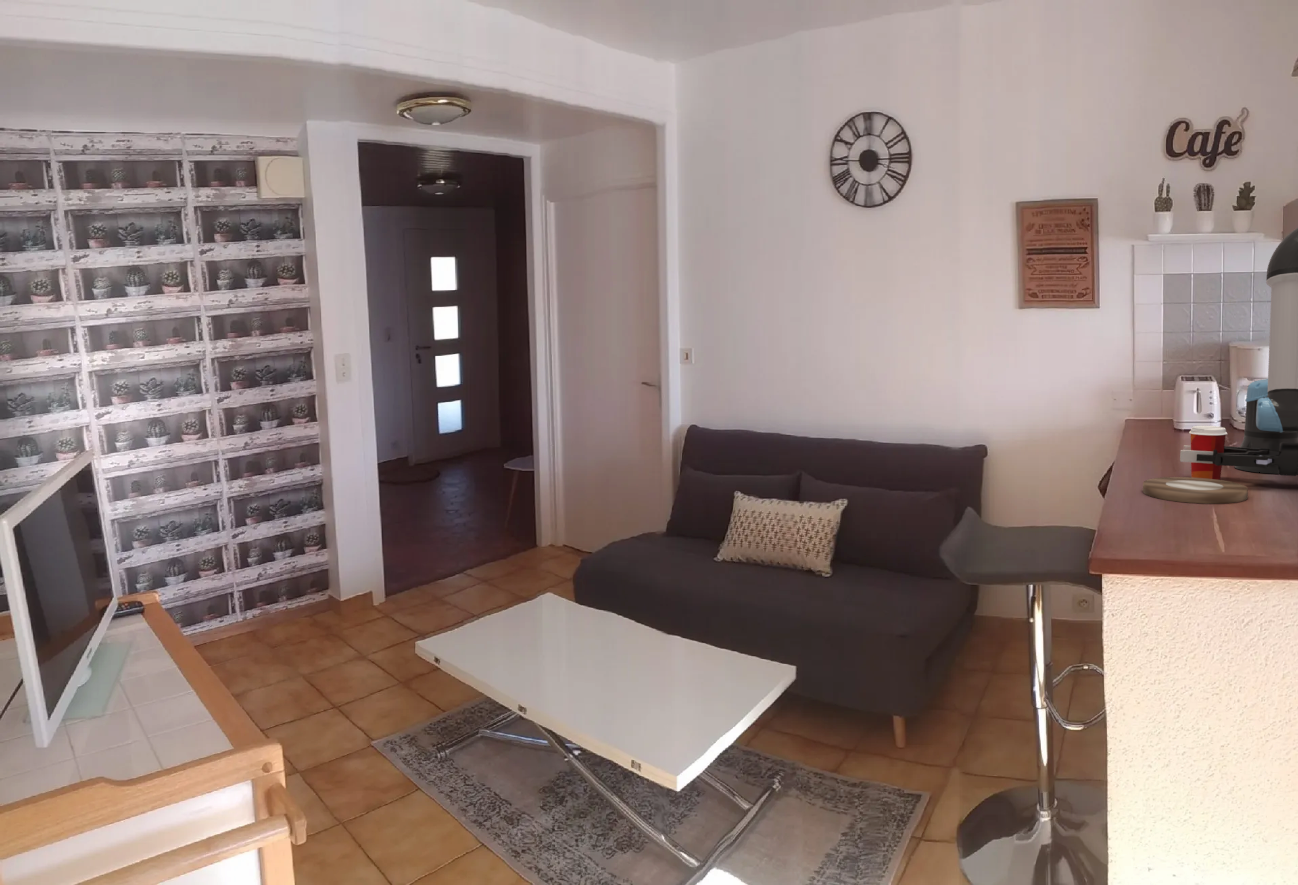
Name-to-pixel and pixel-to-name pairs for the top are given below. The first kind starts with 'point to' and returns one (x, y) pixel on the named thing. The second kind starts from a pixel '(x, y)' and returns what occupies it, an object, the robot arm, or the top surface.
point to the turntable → (1195, 490)
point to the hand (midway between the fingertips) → (1182, 453)
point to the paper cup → (1207, 449)
